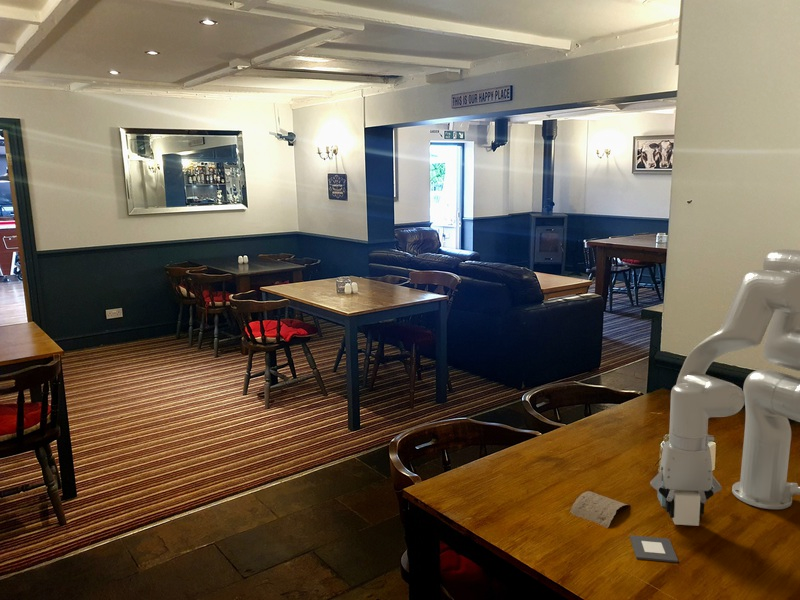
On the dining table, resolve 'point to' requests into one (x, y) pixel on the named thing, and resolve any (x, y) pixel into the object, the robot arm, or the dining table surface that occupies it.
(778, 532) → the dining table surface
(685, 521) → the cream block
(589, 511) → the clay tablet
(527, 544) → the dining table surface
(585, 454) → the dining table surface
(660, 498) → the slate-blue block
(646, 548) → the card
